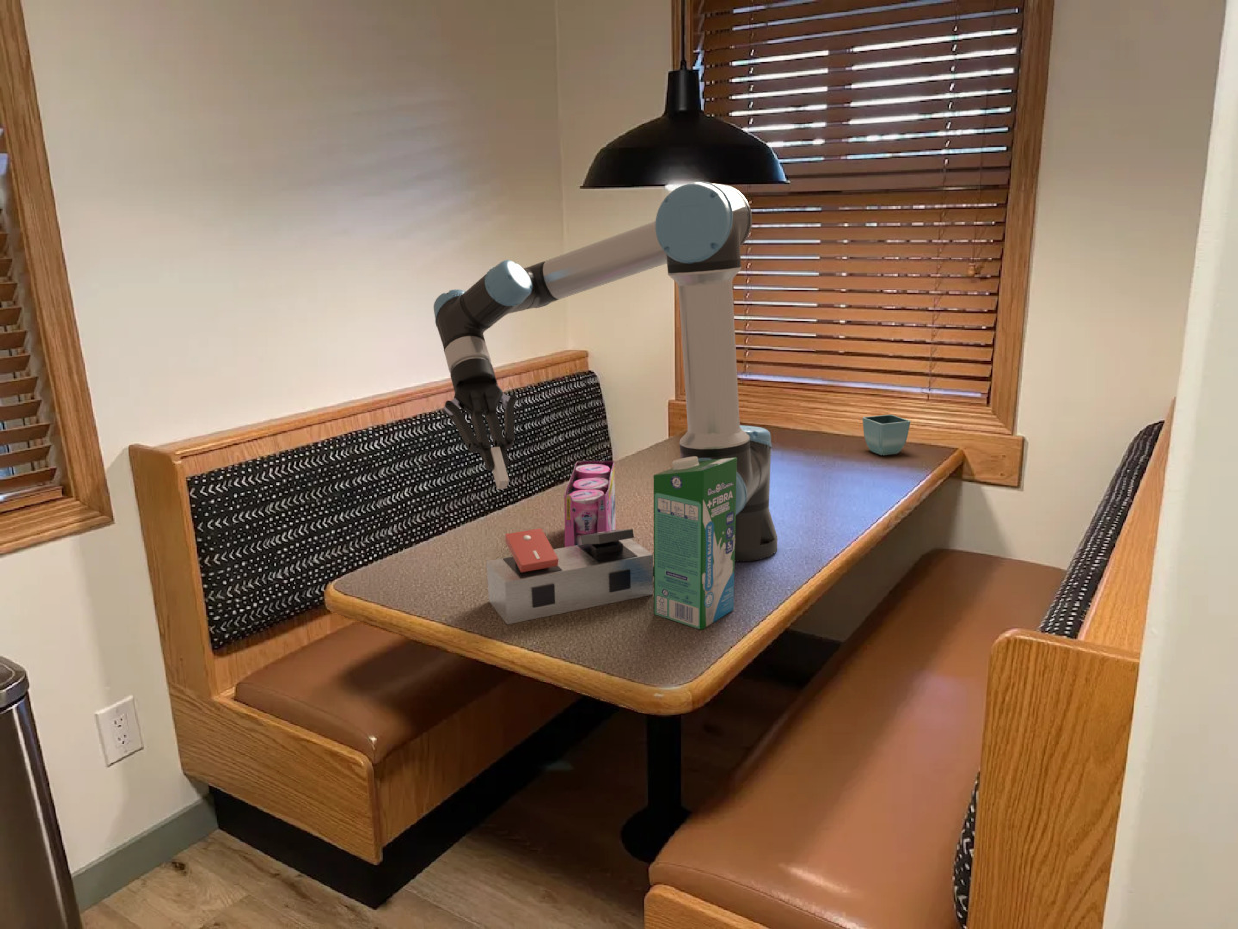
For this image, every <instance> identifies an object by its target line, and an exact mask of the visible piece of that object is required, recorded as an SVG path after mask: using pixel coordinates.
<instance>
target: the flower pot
mask: <svg viewBox="0 0 1238 929" xmlns="http://www.w3.org/2000/svg"><path fill="white" fill-rule="evenodd" d="M910 426H911V420H909V419H906V418H902V417H900V416H896V415H894V414H883V415H872V416H863V417H862V427H863V437H864V441H865V443H866V445H867V447H868V449H869V451H870V452H872V453H874V454H877V455H880V456H882V455H883V456H888V455H897V454H899V453H901V451H902V449H903V448H904V446H905V445H906V442H907V440H908V436H909V431H910Z"/></svg>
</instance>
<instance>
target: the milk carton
mask: <svg viewBox="0 0 1238 929" xmlns="http://www.w3.org/2000/svg"><path fill="white" fill-rule="evenodd" d="M736 475H737V458H736V457H734V458H725V459H715V460H705V461H698V457H696V456H693V457H687V458H682V459H681V458H678V459H675V460H673V461H672V467H671V468H669V469H667V470H663V471H661V472H658V473H655V474H653V567H654V577H653V615H655V616H658V617H661V618H665V619H667V620H671V621H674V622H676V623H680V624H682V625H686V626H689V627H691V628H695V629H697V630H699V631H700V630H701V631H702V630H704V629H705V628H707V627H708V626H710V625H712V624H713V623H715V622H717V621H718V620H720V619H722V618H723V617H724V616H726V615H728V614H729V613H731V612H732V611H734V609H735V608H734V607H735V605H734V604H735V600H734V599H735V598H734V597H735V562H736V561H735V521H736Z"/></svg>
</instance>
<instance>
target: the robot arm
mask: <svg viewBox="0 0 1238 929" xmlns="http://www.w3.org/2000/svg"><path fill="white" fill-rule="evenodd" d="M752 225H753V212H752V209H751V206H750V202H748V199H746V197H745V195H744V194H742V193H741V191H740V190H738V189H736V188H735V187H733V186H731V185H728V184H723V183H712V182H708V181H695V182H691V183H687V184H686V183H685V184H683V185H681V186H678V187H676V188H675V189H673V190H672V191H671V192H670V193H668V195H666V196H665V198H664V199H663V200H662V202H661V203H660V205H659V208H658V209H657V212H656V217H655V221H652V222H649V223H646V224H644V225H641V226H638V227H635V228H632V229H629V230H627V231H624V232H622V233H618V234H616V235H613V236H611V237H608V238H605V239H601V240H600V241H596V242H594V243H591V244H588V245H586V246H583V247H580V248H577V249H575V250H574V249H573V250H572V251H569V252H566V253H564V254H560V255H559V256H555V257H553V258H549V259H547V260H544V261H541V262H539V263H536V264H531V265H530V266H527V267H526V266H525V267H523V266H521V265H520V264H519V263H517V262H514V261H513V260H509V259H504V260H503V261H501V262H499V263H498V264H496V266H494V267H491V268H489V270H488V271H487V272H486V273H485V274H484V275H483V276H482V277H481V278H480V279H479V280H478V281H477V282H475V283H473V284H472V285H471V287H469V288H468V289H467V290H463V289H451V290H448V292H443V293H441V294H440V295H438V296H437V298H436V299H435V301H434V303H433V314H434V319H435V320H434V324H435V327H436V328H437V331H438V334H439V337H440V340H441V344H442V347H443V352H444V356H445V360H446V363H447V367H448V372H449V373H450V380H451V383H452V387H453V390H454V391H453V392H454V396H453V398H452V399H451V400H446V401H445V403H444V404H445V405H444V408H443V413H444V414H445V415H446V416H447V417H449V419H451V420H452V423H453V424H454V426H455V428H456V430H457V431H458V434H460V437H461V438H462V440H463V441H464V444H465V445H466V447H467V449H468V451H469V453H471V454H476V453H477V454H480V455H479V456H480V457H481V458H483V463H484V465H485V468H486V469H485V470H487V471H492V474H493V478H494V482H495V485H496V486H495V487H496V488H497V490H502V489H504V490H505V489H507V487H508V484H509V482H510V479H509V475H508V472H507V469H508V468H509V465H510V459H509V455H508V452H507V450H511V449H512V448H513V444H514V442H515V407H516V404H517V400H518V396H517V395H516V394H511V395H508V394H505V393H504V392H503V390H502V388H501V387H500V386H499V384H498V380H497V377H496V374H495V371H494V367H493V366H494V365H492V360H491V356H490V354H489V350H488V347H487V344H486V343H487V342H486V340H485V336H484V333H485V332H486V331H487V330H488V329H491V327H493V325H495V324H496V323H497V322H499V321H500V320H502V319H503V317H505V316H507V315H508V314H512V313H513V314H514V313H517V312H523V311H525V310H530V309H539V308H543V307H546V306H548V305H549V304H552V303H554V302H557V301H559V300H561V299H565V298H568V297H572V296H574V295H577V294H579V293H582V292H586V291H589V290H591V289H594V288H598V287H601V286H604V285H607V284H610V283H613V282H615V281H618V280H622V279H624V278H627V277H630V276H634V275H636V274H638V273H639V274H640V273H643V272H646V271H648V270H649V271H650V270H652V269H655V268H657V267H661V266H664V265H667V275H668V277H670V278H671V279H672V280H673V281H674V282H676V284H677V287H678V302H679V303H678V304H679V317H680V331H681V347H682V363H683V377H684V392H685V408H686V419H687V420H686V422H687V430H686V433H685V434H684V435H683V436H682V437H681V438H680V440H679V453H680V459H682V458H687V457H693V456H696V457H698V461H705V460H715V459H725V458H734V457H736V458H737V475H736V521H735V562H753V561H759V560H758V559H760V560H763V559H762V558H764V559H767V558H769V557H771V556H773V555H774V554H775V553H776V552H777V550H778V534H777V531H776V528H775V525H774V520H773V518H772V515H771V511H770V491H771V490H770V489H771V486H770V484H771V460H772V459H771V458H772V454H771V453H772V448H773V445H772V435H771V432H770V431H769V430H768V429H766V428H764V427H760V426H752V425H744V424H743V425H742V424H740V404H739V403H740V402H739V388H738V387H739V386H738V385H739V384H738V366H737V349H736V348H737V346H736V329H735V311H734V308H735V307H734V292H733V281H734V278H735V277H736V275H737V274H738V273H739V272H740V271H741V270H742V262H741V261H742V258H741V257H742V256H741V247H742V246H743V244H744V243H746V241H747V239H748V238H749V236H750V233H751V231H752ZM500 403H502V407H503V409H505V411H504V433H503V432H502V426H501V424H500V420H499V418H498V417H499V416H498V414H497V408H498V406H499V404H500ZM461 409H462V410H463V411H464V412H466V413H467V414H468V415H469V417H470V420H471V421H470V422H471V423H472V425H473V429H474V432H473V429H472V428H471V426H470V424H469V423H468V420H467V419H466V417H465V415H464V414H463V412H462V410H461ZM484 419H485V421H486V422H487V425H488V428H489V432H490V435H491V439H492V443H493V445H494V447H491V442H490V439H489V436H488V432H487V431H488V430H487V428H486V424H485V421H484ZM503 434H504V435H503ZM774 552H775V553H774ZM773 553H774V554H773ZM772 554H773V555H772ZM770 555H771V556H770ZM766 557H767V558H766Z"/></svg>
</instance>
